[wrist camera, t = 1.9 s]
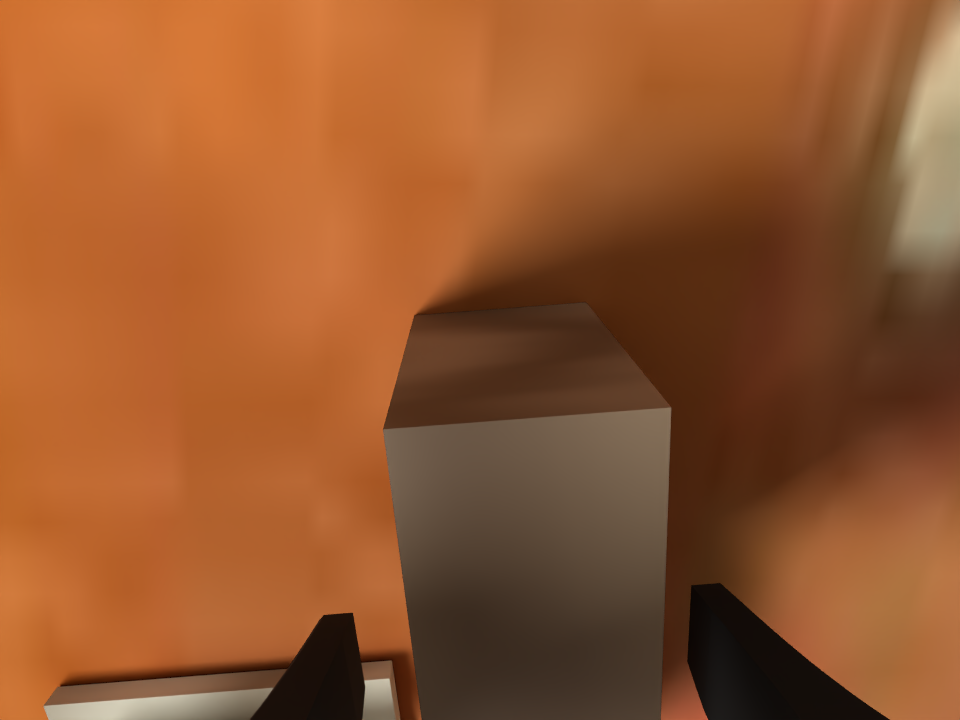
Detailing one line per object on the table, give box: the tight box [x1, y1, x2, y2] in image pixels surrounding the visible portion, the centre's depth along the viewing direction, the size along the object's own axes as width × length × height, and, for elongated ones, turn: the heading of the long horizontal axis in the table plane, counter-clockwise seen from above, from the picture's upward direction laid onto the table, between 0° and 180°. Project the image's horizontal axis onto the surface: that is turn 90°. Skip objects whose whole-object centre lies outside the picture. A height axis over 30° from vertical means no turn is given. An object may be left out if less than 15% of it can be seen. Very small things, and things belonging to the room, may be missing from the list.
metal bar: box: [383, 302, 671, 720], centre depth 13 cm, size 4×13×6 cm, turn 4°
